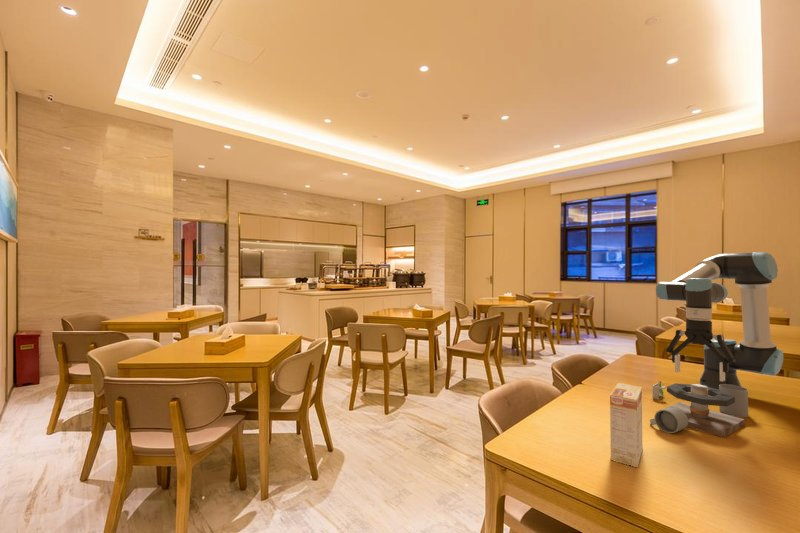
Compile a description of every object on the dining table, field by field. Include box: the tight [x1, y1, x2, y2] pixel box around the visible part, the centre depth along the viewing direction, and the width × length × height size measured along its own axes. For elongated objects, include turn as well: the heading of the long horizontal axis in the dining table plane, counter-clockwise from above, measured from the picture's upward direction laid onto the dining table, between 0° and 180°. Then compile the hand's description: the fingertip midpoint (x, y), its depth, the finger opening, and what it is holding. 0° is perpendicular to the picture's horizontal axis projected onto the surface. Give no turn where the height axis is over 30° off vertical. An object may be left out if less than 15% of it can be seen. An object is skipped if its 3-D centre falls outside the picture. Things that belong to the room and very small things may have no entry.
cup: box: [718, 384, 749, 418], centre depth 142 cm, size 8×8×10 cm
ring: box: [666, 383, 735, 407], centre depth 135 cm, size 18×18×2 cm
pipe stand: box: [664, 383, 746, 439], centre depth 134 cm, size 20×20×13 cm
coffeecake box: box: [609, 382, 644, 468], centre depth 110 cm, size 15×7×20 cm, turn 141°
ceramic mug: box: [649, 408, 688, 434], centre depth 128 cm, size 11×8×8 cm
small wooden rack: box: [652, 380, 667, 400], centre depth 159 cm, size 4×7×8 cm, turn 127°
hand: (698, 376), depth 135 cm, fingers open, 13 cm apart
